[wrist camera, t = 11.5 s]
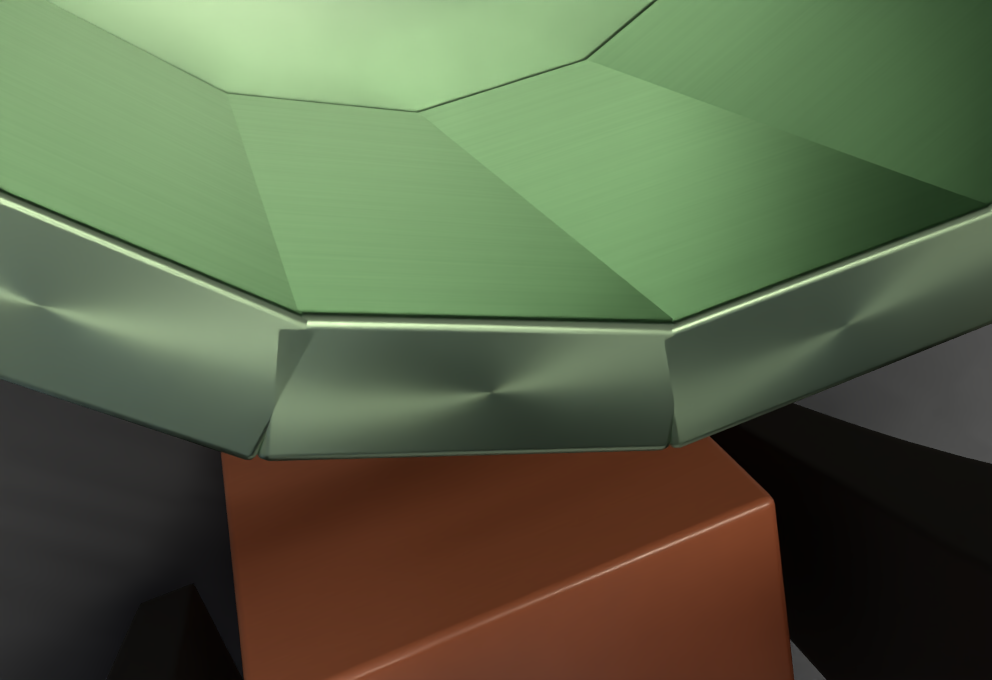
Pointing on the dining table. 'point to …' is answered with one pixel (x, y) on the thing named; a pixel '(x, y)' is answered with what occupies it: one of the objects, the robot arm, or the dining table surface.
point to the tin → (484, 214)
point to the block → (507, 567)
